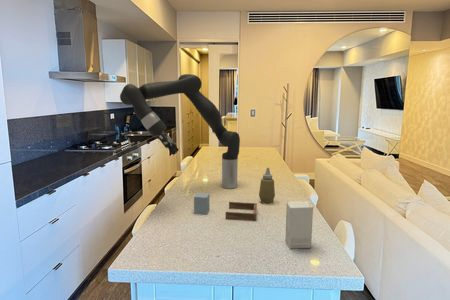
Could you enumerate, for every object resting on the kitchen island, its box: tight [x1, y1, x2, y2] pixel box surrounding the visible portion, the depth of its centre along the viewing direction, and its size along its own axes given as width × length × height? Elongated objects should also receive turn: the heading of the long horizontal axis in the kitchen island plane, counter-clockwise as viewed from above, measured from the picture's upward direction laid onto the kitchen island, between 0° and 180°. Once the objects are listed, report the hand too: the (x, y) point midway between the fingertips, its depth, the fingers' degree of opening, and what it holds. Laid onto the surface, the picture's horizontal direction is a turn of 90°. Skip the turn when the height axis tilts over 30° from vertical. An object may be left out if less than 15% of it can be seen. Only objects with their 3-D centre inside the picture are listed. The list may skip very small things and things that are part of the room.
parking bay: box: [225, 201, 258, 222], centre depth 137 cm, size 14×13×3 cm
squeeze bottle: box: [258, 167, 276, 205], centre depth 152 cm, size 8×8×18 cm
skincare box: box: [285, 200, 314, 249], centre depth 108 cm, size 8×7×16 cm
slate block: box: [193, 192, 210, 215], centre depth 139 cm, size 6×6×8 cm
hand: (176, 152), depth 136 cm, fingers open, 8 cm apart
